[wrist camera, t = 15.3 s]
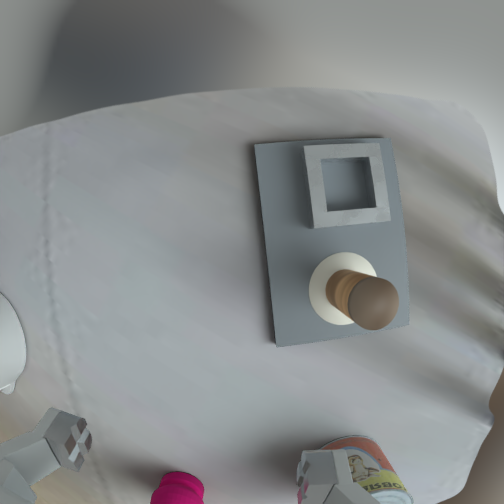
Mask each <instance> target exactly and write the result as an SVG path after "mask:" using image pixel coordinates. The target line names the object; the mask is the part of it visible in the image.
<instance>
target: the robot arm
mask: <svg viewBox="0 0 504 504" xmlns="http://www.w3.org/2000/svg"><path fill="white" fill-rule="evenodd" d="M25 362H26V344H25V338H24V334H23V330H22V327H21V324H20V321H19V319H18V317H17V315H16V313H15V311H14V309H13V307H12V306H11V304H10V303H9V302H8V300H7V299H6V298H5V297H4V296H3V295H2V294H1V293H0V391H1V392H3V393H5V394H10V393H12V392H13V391H14V387H15V381H16V379H17V378H18V377H19V375H20V374H21V373H22V371H23V369H24V366H25ZM86 426H87V423H86V420H85V419H84V418H81V417H78V416H75V415H72V414H69V413H67V412H64V411H61V410H58V409H55V408H53V407H52V408H50V409H48V411H47V412H46V413H45V415H44V416H43V418H42V419H41V420H40V422H39V423H38V425H37V426H36V428H35V429H34V430H33V432H27V433H25V434H22V435H20V436H18V437H15V438H13V439H10V440H8V441H5V442H3V443H1V444H0V504H35V503H34V502H35V500H36V498H37V496H36V494H35V493H34V492H33V490H32V489H31V488H30V486H31V485H33V484H34V483H36V482H38V481H39V480H41V479H42V478H44V477H46V476H47V475H49V474H50V473H52V472H53V471H55V470H56V469H58V468H59V467H60V466H63V467H65V468H68V469H71V470H74V471H77V472H79V470H80V468H81V466H82V464H83V462H84V458H83V455H84V454H86V453H88V452H89V450H90V448H91V443H92V437H91V433H90V431H89V430H88V429H87V428H86ZM296 480H297V485H298V486H299V487H300V489H299V491H298V494H297V495H298V504H381V503H380V502H379V501H378V500H376V499H375V498H374V497H373V496H372V495H371V494H369V493H368V492H367V491H366V490H365V489H364V488H362V487H361V486H360V485H359V484H358V483H353V480H352V475H351V471H350V467H349V462H348V458H347V454H346V451H345V450H344V449H337V450H330V449H329V450H304V451H303V452H302V455H301V462H299V464H298V467H297V473H296Z"/></svg>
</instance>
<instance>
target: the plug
mask: <svg viewBox="0 0 504 504" xmlns="http://www.w3.org/2000/svg"><path fill="white" fill-rule="evenodd" d="M325 291H326V297H327V299H328V301H329V303H330V304H331V305H332V306H334V307H335V308H336V309H338V310H339V311H340V312H342V313H343V314H344V315H346V316H347V317H348V318H350V319H351V320H352V321H354V322H355V323H356V324H358V325H359V326H360V327H362V328H364V329H366V330H379V329H382V328H384V327H385V326H387V325H388V324H389V323H390V322H391V321H392V320H393V319H394V317H395V315H396V313H397V311H398V307H399V296H398V292H397V290H396V288H395V287H394V285H393V284H392V283H391V282H389V281H388V280H386V279H383V278H379V277H375V276H371V275H368V274H364V273H360V272H357V271H353V270H349V269H343V270H339V271H337V272H335V273H334V274H333V275H332V276H331V277H330V278H329V280H328V281H327V284H326V290H325Z"/></svg>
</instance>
